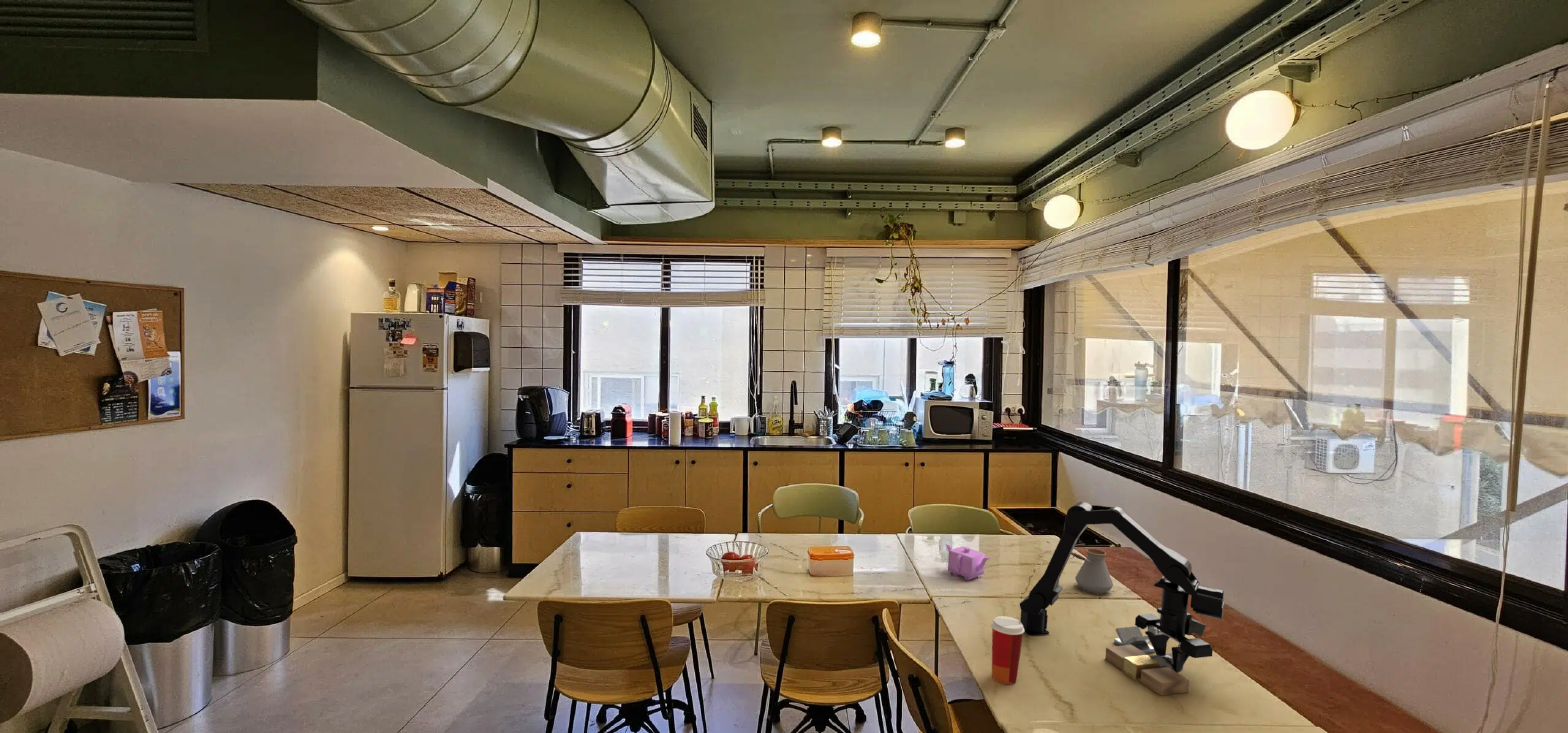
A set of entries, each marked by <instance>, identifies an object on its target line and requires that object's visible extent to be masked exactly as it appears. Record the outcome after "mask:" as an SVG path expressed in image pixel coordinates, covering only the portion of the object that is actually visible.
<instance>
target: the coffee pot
mask: <svg viewBox="0 0 1568 733" xmlns="http://www.w3.org/2000/svg"><path fill="white" fill-rule="evenodd" d="M1085 553H1086V558H1085V557H1084V556H1082V555H1080V554H1077V553H1076V552H1073V551H1072V553H1071V555H1070V556H1072V557H1069V559H1071V560H1072V559H1074V558H1076V559H1078V560H1081V561H1084V562H1083V563H1082V565H1081V567H1080V569H1079V570H1078V571H1077V573H1076V575H1075V578H1074V579H1075V582H1076V584H1077V585H1078V586H1079V587H1080V588H1081V590H1083V591H1084V592H1086V593H1090V594H1096V595H1104V594H1106V593H1107V592H1109V591H1110V590H1111V589H1112V588H1113V586H1114V582H1113V580H1112V577H1111V574H1110V571H1109V568H1108V566H1107V564H1106V560H1105V557H1106V556H1107V552H1105V551H1104V550H1101V549H1097V548H1086V549H1085Z"/></svg>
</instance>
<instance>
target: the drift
mask: <svg viewBox="0 0 1568 733" xmlns="http://www.w3.org/2000/svg"><path fill="white" fill-rule="evenodd" d="M1148 655H1149V654H1147V655H1141V656H1132V657H1124V670H1122V671H1123V673H1124V674H1126V675H1127V676H1128V677H1130V678H1131V679H1133V680H1134V681H1141V670H1145V669H1154V668H1160V662H1158V661H1157V660H1155V659H1153V658H1152V657H1150V656H1151V655H1149V656H1148Z"/></svg>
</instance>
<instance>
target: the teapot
mask: <svg viewBox="0 0 1568 733" xmlns="http://www.w3.org/2000/svg"><path fill="white" fill-rule="evenodd" d="M944 545H945V547H946V548H947V551H948V558H947V559H948V560H947V562H948V563H947V572H951V573H952V576H954V577H959V576H962V577H964V580H965V581H969V582H970V581H971V580H972V579H974V578H979V577H980V576H982V575H984V574H985V565H986V562H987V561H988V560H991V559H992V558H991V557H987V556H986V553H984V552H981V551H979V550H975V549H972V548H971V547H968V546H962V545H961V546H959V547H955V548H952V546H951V545H949V544H944Z"/></svg>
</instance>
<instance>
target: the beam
mask: <svg viewBox="0 0 1568 733" xmlns="http://www.w3.org/2000/svg"><path fill="white" fill-rule="evenodd" d="M1141 655H1148V656H1150V655H1149V654H1148V653H1144V652H1142V651H1141V650H1139V649H1138V648H1136V647H1134V646H1133V645H1124V646H1119V645H1116V646H1106V647H1105V656H1104V657H1105V660H1107V661H1109V662H1110V663H1111V664H1113V665H1115V666H1116V667H1117V668H1119V669H1120V670H1122V671H1123V670H1124V657H1132V656H1141ZM1139 681H1140V683H1142V684H1143V685H1144V686H1146V687H1147V688H1149V689H1150V690H1152V691H1154V693H1156V694H1158V695H1159V696H1167V695H1174V694H1175V695H1177V694H1183V693H1184V694H1185V693H1189V685H1190V684H1189V683H1190V680H1189V678H1188V677H1185V676H1184V675H1181V674H1180V672H1179V673H1177V672H1175V671H1174V670H1172V669H1170V668H1169V667H1163V668H1154V669H1145V670H1141V680H1139Z"/></svg>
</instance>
